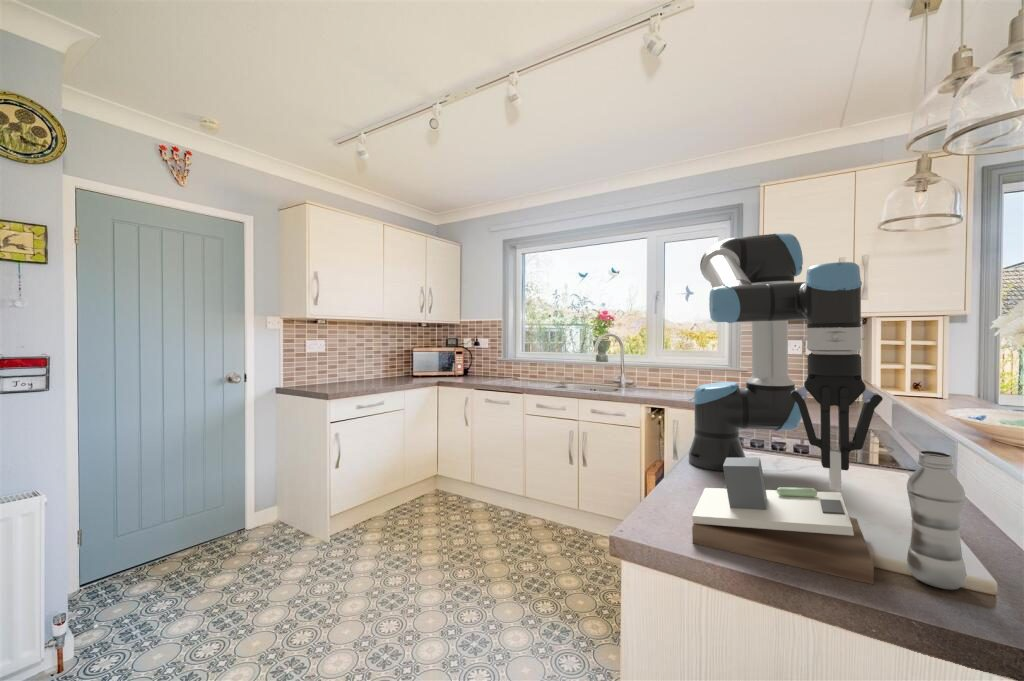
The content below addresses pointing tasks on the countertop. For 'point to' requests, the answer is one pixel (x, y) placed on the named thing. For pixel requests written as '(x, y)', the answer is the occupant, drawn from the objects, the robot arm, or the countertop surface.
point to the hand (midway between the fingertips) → (835, 486)
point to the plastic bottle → (936, 522)
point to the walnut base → (795, 548)
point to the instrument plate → (769, 504)
